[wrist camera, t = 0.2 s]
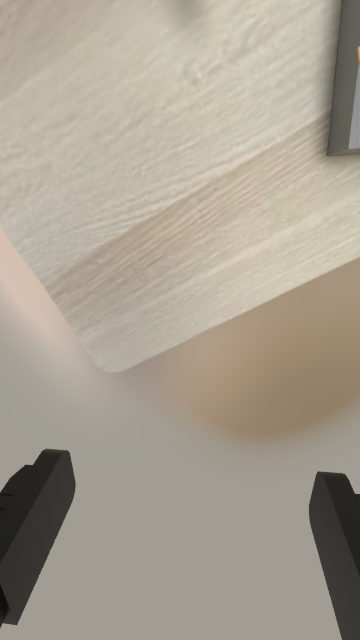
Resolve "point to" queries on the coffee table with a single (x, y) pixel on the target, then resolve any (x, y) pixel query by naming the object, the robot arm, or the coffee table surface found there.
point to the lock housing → (347, 85)
